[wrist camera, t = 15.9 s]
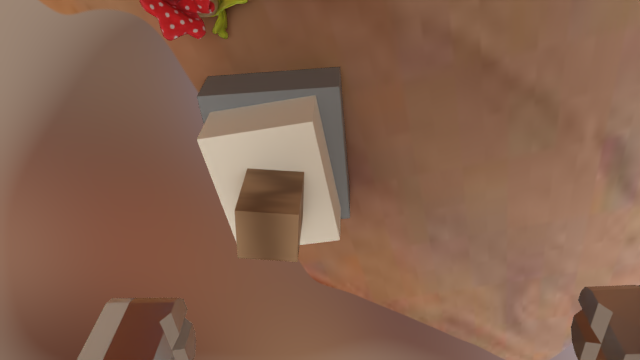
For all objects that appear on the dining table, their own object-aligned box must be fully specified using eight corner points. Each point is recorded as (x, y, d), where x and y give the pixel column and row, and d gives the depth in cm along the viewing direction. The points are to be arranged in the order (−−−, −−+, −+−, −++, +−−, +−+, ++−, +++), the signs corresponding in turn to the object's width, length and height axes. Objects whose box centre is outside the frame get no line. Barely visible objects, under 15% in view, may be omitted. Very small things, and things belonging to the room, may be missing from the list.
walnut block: (304, 171, 44) (298, 214, 40) (302, 216, 47) (297, 261, 42) (247, 168, 45) (234, 210, 40) (249, 213, 47) (237, 257, 42)
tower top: (315, 95, 46) (312, 121, 42) (340, 207, 53) (340, 240, 49) (209, 112, 47) (196, 139, 43) (248, 220, 54) (240, 252, 50)
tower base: (340, 64, 49) (339, 86, 45) (349, 190, 58) (349, 218, 54) (208, 74, 50) (196, 96, 46) (237, 196, 59) (229, 223, 55)
